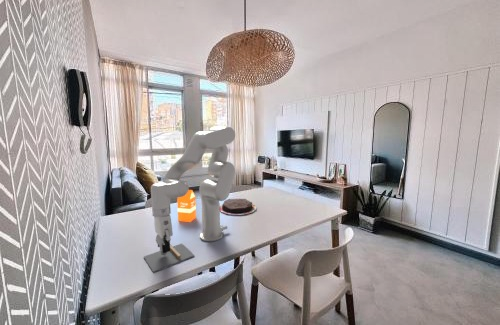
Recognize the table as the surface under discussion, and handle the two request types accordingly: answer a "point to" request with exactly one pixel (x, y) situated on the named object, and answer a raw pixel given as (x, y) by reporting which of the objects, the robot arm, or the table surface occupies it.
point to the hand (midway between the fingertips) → (163, 248)
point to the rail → (175, 252)
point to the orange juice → (186, 207)
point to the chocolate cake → (237, 207)
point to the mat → (167, 258)
